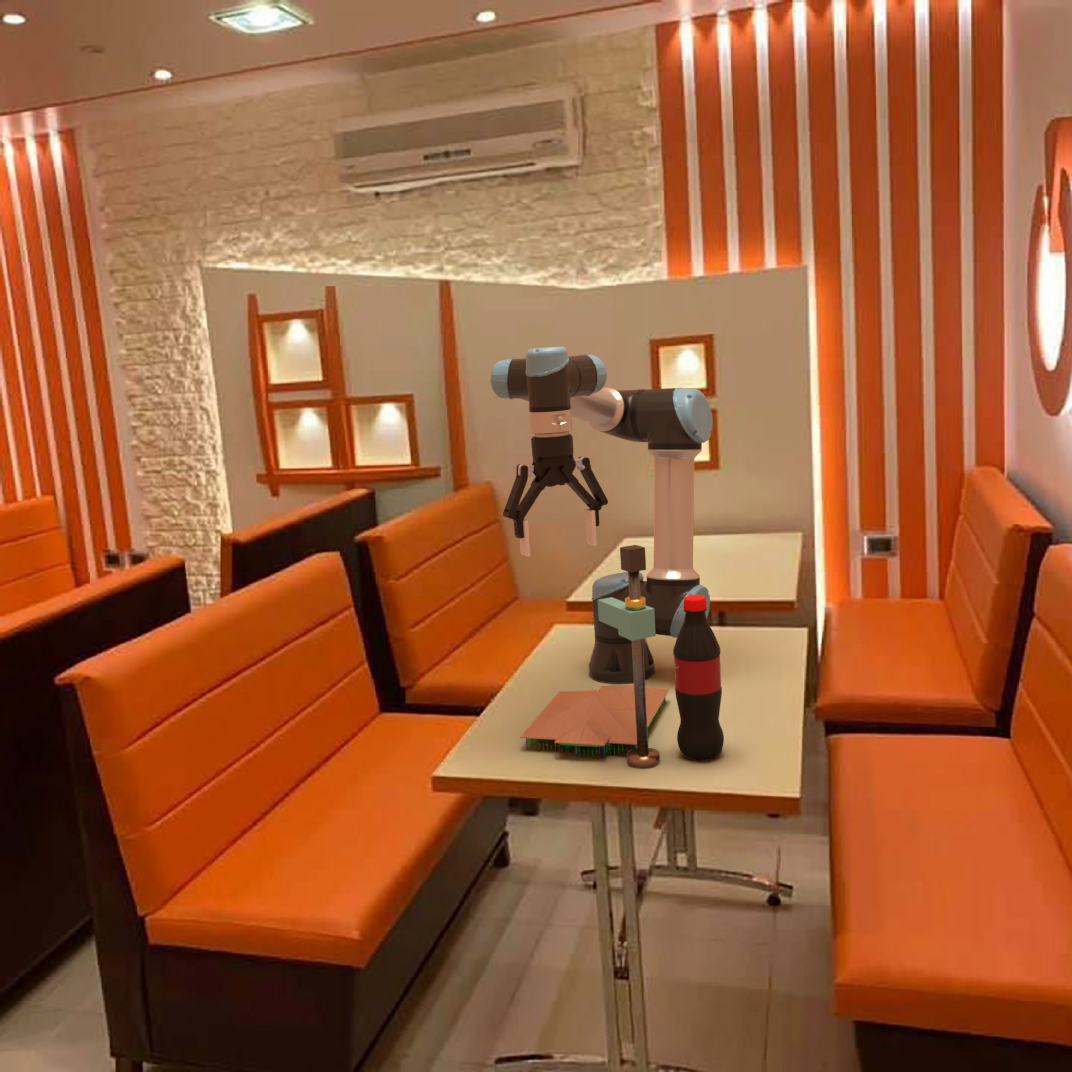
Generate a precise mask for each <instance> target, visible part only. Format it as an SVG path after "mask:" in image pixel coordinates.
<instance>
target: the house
mask: <svg viewBox="0 0 1072 1072" xmlns="http://www.w3.org/2000/svg"><path fill="white" fill-rule="evenodd" d="M669 691H670V688H665V687H664V688H662V687H653V686H645V693H646V712H647V729H648V730H651V729H652V728H653V726H652V725H654V723H655V722H654V720H655V719H656V720H657V719H658V716H659V714H661V712H662V710H663V708H664V706H665V704H666V703H665V702H666V698H667V697H666V696H667V694H668V693H669ZM661 709H662V710H661ZM519 738H521V739H525V742H526V743H525V744H526V750H528V749H529V748H530V750H531V751H532V749H533V748H532V745H533V742H536V740H550V741H552V740H553V741H554V744H555V745H554V751H555V752H557V750H556V749H557V748H556V746H557V747H558V750H559V752H562V753H563V749H560V746H561V747H564V753H568V752H569V751H570V749H571V748H572V747H573V748H574V752H575V753H574V755H575V756H574V757H577V754H580V752H587V755H588V757H589V758H590V756H589V754H590V753H589V752H590V750H588V749H587V750H585V749H583V750H581V749H579V748H581V747H591V754H592V756H591V757H594V753H593V752H594V750H593V748H595V749H596V750H595V752H596V753H595V754H598V753H602V759H604V758H605V757H606V755H607V750H609V754H611V750H612V744H614V745H615V744H617V745H618V746H617V750H618V751H617V752H618V753H620V750H622V751H624V750H626V751H628V748H626V749H625V748H624V746H623V745H630V746H632V745H633V749H635V748H637V734H636V715H635V696H634V685H631V684H630V685H629V684H618V685H617V684H616V685H601V686H600V688H599V689H597V690H596V689H590V690H589V689H588V690H587V689H586V690H565V691H558V692H557V694H556V695H555V696H554V697H553V698H552V700H551V701H550V702H549V703H548V704H547V705H546V706H545V708H544V709H543V710H541V713H540V714H539V715H538V716H537V717H536V718H535V719H534V720H533V721H532V723H531V724H530V725H529V726H528V727H527V728H526V730H525V731H524V732H523V733H522V734H521V735H520V737H519ZM540 745H542V750H543V752H544V748H545V747H544V746H545V745H546V751H547V752H548V750H549V749H548V743H539V746H538V749H539V752H540V749H541V748H540ZM619 745H621V746H622V748H619V747H620V746H619ZM610 747H611V748H610ZM552 748H553V747H552V746H550V751H551V752H552V751H553V749H552ZM597 748H599V749H597ZM600 748H601V749H600ZM534 750H535V751H536V746H534ZM615 751H616V748H615V747H613V752H614V753H613V754H614V755H613V756H615V755H616V752H615ZM559 752H558V753H559ZM605 754H606V755H605ZM585 755H586V754H585V753H583V756H584V757H583V758H585V757H586V756H585ZM611 755H612V754H611ZM604 756H605V757H604ZM580 757H581V755H579V758H580Z"/></svg>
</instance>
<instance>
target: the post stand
mask: <svg viewBox="0 0 1072 1072" xmlns="http://www.w3.org/2000/svg"><path fill="white" fill-rule="evenodd" d="M619 554H620V555H619V557H620V570H621V571H623V572H628V582H629V597H627V598H625V608H627V609H630V610H631V611H636V610H641V609H642V608H645V607H646V603H645V597H642V596H641V594H640V574H639V573H640V572H642V571H646V570H647V562H646V561H647V560H646V547H644V546H640V545H638V544H633V545H632V544H631V545H627V546H625V545H624V546H621V547H619ZM632 658H633V677H634V682H633V686H634V696H635V715H636V734H637V748H635V749H634V748H633V749H632V748H631V749H629V750H627V751H626V763H627V765H628V766H629V767H631V768H635V769H650V768H654V767H656V766H659V764H660V763H661V756H660V755H661V754H660V751H659V750H657V749H655V748H653V747H649V737H648V736H649V731H648V728H647V712H646V693H645V687H646V679H645V673H644V653H643V639H639V640H634V641H632Z"/></svg>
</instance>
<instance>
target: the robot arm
mask: <svg viewBox="0 0 1072 1072" xmlns="http://www.w3.org/2000/svg"><path fill="white" fill-rule="evenodd" d="M607 375H608V372H607V368H606V365H605V364H604V362H603V361H602V359H600V358H599V357H598V356H596V355H593V354H586V353H584V354H578V355H568V350H567V348H566V347H564V346H550V347H536V348H535V347H533V348H530V349H528V350H527V352H526V354H525V358H509V359H508V358H507V359H503V360H498V361H497V362H496V363H495V364H494V366H493V367H492V369H491V371H490V386H491V389H492V391H493V393H494V394H495V395H496V396H497V397H498V398H501V399H509V400H514V399H520V400H522V401H526V402H528V410H529V411H528V414H529V417H528V418H529V430H530V433H531V434H532V435H533V436H532V437H531V438H530V442H531V443H530V444H531V456H532V463H531V464H530V465H528V464H527V465H526V464H521V463H519V464H517V465H516V468H515V469H516V473H515V475H516V476H515V479H514V482H513V485H512V488H511V491H510V493H509V496H508V499H507V502H506V504H505V507H504V509H503V512H502V516H503V517H504V518H507V519H510V520H512V521H513V528H514V529H513V530H514V536H515V538H516V539H519V551H520V555H521V556H524V557H531V544H530V529H529V520H527V519H525V517H526V516H527V515H528V513H529V511H530V509H532V506H533V505H534V504H535V502H536V500H537V498H538V497H539V496H540V494H541V492H542V491H544V490H545V489H546V487H548V488H553V487H555V486H565V485H567V486H568V487H569V488H570V489H571V490H572V491H573V492H574V493H575V494H576V495H577V496H578V497H579V499H580V500H582V502H583V503H584V504H585V505H586V506H587V507H588V508H584V520H585V521H584V525H585V541H586V542H585V543H586V545H590V546H594V547H595V546H598V541H597V527H599V526H600V510H602V507H603V506H607V505H608V503H609V500H608V498H607V496H606V494H605V492H604V490H603V489H602V487H601V484H600V483H599V481H598V479H597V477H596V475H595V474H594V472H593V470H592V466H591V460H590V457H586V456H578V458H576V459H574V439H573V437H574V436H573V435H572V434H570V432H571V431H573V423H572V417H573V418H575V419H579V420H581V421H584V422H587V423H588V425H589V426H590V427H591V428H592V429H594V430H596V431H597V432H601V433H603V434H605V435H606V434H607V435H609V436H612V437H615V438H619V439H622V440H625V441H629V442H636V443H647V452H648V453H649V454H650V455H651V456H652V457H653V459H654V483H653V484H654V485H653V486H654V489H653V491H654V495H653V498H654V502H653V504H654V505H653V508H654V509H653V517H654V518H653V568H652V569H651V570H650V571H649V572H648V573H647V574H646V580H644V578H645V577H644V576H643V574H642V573H641V572H639V574H640V594H641V596H642V597H645V603H646V606H649V607H651V608H654V614H655V634H656V635H659V636H666V637H667V636H668V637H672V638H674V639H675V638H676V639H677V637H678V634H679V632H680V630H681V627H682V625H683V623H684V619H685V614H686V612H685V611H684V610H683V609H684V598H685V597H687V596H691V595H700V596H704V597H705V599H706V606H707V610H706V611H705V615H706V618H707V619H708V616H709V612H710V606H711V597H710V596H711V595H710V593H709V589H708V588H707V587H706V586H705V585H703V584H700V582H701V577H700V576H701V575H700V574H699V573H698V572H697V570H695V569H694V525H695V524H694V515H695V514H694V513H695V511H694V509H695V507H694V506H695V494H694V493H695V459H696V457H697V456H698V455H699V454H700V453H701V452H702V448H703V447H702V446H703V445H702V444H704V443H706V442H708V441H709V439H710V438H711V436H712V431H713V423H714V422H713V421H714V420H713V414H712V413H713V412H712V409H711V406H710V402H709V400H708V399H707V397H706V395H704V393H703V392H702V391H701V390H699V389H697V388H689V387H672V388H671V387H670V388H653V389H651V388H649V389H648V388H647V389H646V388H645V389H643V388H642V389H640V388H637V389H627V390H626V389H624V390H623V389H622V390H621V389H619V390H618V389H615V388H612V387H604V386H605V385H606V382H607V379H608V376H607ZM576 468H577V470H579V471H580V474H581V476H582V478H583V480H584V481H585V483H586V485H587V487H588V489H589V490H590V493H591V494H590V493H589V492H588V490H587V489H586V488H585V487H584V486H583V485H582V483H580V481H579V479H578V478H577V477H576V476H575V475H574V474H573V473H574V471H575V469H576ZM531 473H532V474H533V475H534V476H535V477H533V480H532V481H531V483H530V487H529V488H528V490H527V491H526V493H525V494H524V491H525V489H526V486H527V483H528V478H529V477H530V476H531ZM523 494H524V496H523ZM591 591H592V594H591V596H592V597H591V602H592V613H593V614H592V615H593V627H594V645H593V648H592V649H593V650H592V652H591V653H592V654H591V656H590V659H589V665H588V671H589V672H588V673H589V677H590V678H591V679H593V680H595V681H597V682H601V683H602V682H603V683H607V684H628V683H634V677H633V658H632V641H631V640H629V639H627V638H625V637H622V636H620V635H619V634H618V629H617V628H615V627H612V626H610V625H608V624H606V623H603V622H601V621H599V616H598V600H599V599H604V598H610V597H612V598H615V599H618V600H620V601H623V602H625V598H627V597H629V582H628V572H627V571H623V572H617V573H612V574H608V575H604V576H602V577H598V578H597V579H596V580H594V582H593V584H592V590H591ZM648 644H649V643H648V642H647V638H644V639H643V653H644V673H645V680H647V679H649V678H651V677H653V676H654V675H655V673H656V663H655V660H654V658H653V654H652V652H651V649H650V647H649V645H648Z"/></svg>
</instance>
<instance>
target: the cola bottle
mask: <svg viewBox="0 0 1072 1072" xmlns="http://www.w3.org/2000/svg"><path fill="white" fill-rule="evenodd" d="M683 610H684V611H685V612H686V614H685V619H684V623H683V625H682V627H681V630H680V632H679V634H678V637H677V638H676V640H675V643H674V645H673V650H672V651H673V656H674V657H673V658H674V679H675V681H674V682H675V688H674V691H675V692H674V693H675V694H674V695H675V698H676V704H677V708H678V713H679V717H680V723H679V727H678V729H677V733H676V742H677V745H678V746H677V747H678V750H679V751H680V753H681V755H682V756H684V757H685V758H687V759H689V760H693V761H700V762H701V761H709V760H712V759H715V758H717V757H718V756H720V754H721V753H722V750H723V747H724V741H725V737H724V736H725V735H724V732H723V729H722V726H721V723H720V720H719V719H720V710H721V701H722V693H723V690H722V689H723V687H722V682H721V681H722V679H721V678H722V675H721V674H722V673H721V656H720V655H721V647H720V644H719V642H718V640H717V637H716V634H715V633H714V631H713V629H712V628H711V625H710V623H709V622H708V617H707V618H706V615H705V611H706V610H707V606H706V599H705V597H704V596H700V595H691V596H687V597H685V598H684V609H683Z"/></svg>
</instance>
